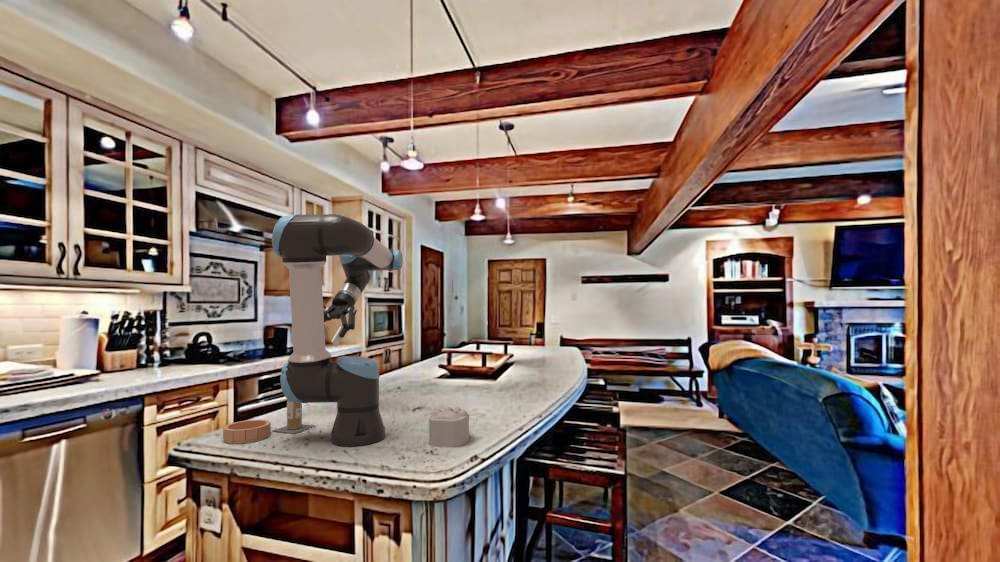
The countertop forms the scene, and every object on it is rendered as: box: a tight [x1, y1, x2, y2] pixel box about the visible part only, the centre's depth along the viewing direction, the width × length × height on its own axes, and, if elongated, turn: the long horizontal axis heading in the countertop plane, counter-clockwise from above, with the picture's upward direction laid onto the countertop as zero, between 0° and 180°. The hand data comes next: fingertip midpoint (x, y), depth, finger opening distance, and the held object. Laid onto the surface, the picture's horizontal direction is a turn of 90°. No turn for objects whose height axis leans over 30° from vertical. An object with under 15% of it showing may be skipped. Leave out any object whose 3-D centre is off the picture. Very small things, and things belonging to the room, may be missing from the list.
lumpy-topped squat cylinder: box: [428, 406, 470, 448], centre depth 135 cm, size 10×13×9 cm
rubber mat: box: [271, 423, 316, 435], centre depth 148 cm, size 9×9×1 cm
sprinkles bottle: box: [286, 398, 303, 430], centre depth 148 cm, size 5×5×14 cm
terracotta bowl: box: [222, 419, 272, 445], centre depth 139 cm, size 12×12×4 cm
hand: (317, 343), depth 158 cm, fingers open, 13 cm apart
